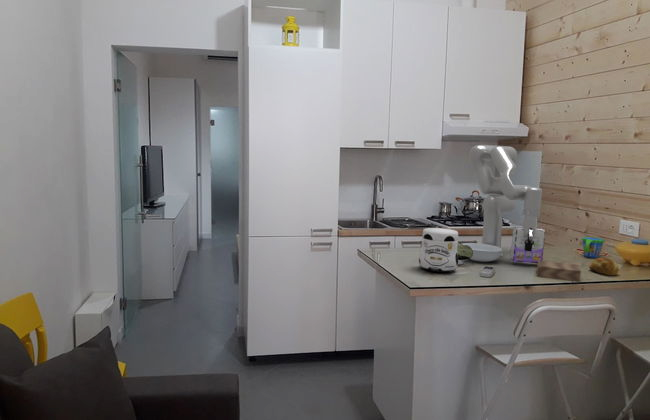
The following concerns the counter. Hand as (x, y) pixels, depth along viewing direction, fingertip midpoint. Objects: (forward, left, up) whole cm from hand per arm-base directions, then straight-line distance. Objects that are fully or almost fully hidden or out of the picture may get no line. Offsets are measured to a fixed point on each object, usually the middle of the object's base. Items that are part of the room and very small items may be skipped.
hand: (527, 249), depth 248 cm
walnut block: (+12, -18, -8) cm, 23 cm away
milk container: (-40, -31, -8) cm, 51 cm away
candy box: (0, 0, -6) cm, 6 cm away
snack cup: (+38, +38, -8) cm, 54 cm away
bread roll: (+34, -2, -8) cm, 35 cm away
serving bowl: (-21, +1, -8) cm, 23 cm away
